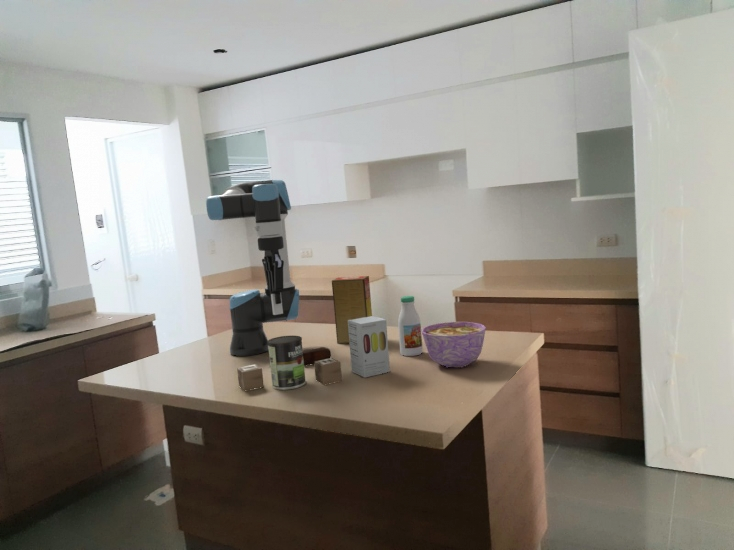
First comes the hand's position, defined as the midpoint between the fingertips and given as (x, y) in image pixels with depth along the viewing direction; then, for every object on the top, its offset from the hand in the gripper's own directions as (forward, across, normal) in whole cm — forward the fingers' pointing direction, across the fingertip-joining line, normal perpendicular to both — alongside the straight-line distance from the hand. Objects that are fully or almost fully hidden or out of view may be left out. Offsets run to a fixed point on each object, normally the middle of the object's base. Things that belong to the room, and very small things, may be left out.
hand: (277, 313), depth 169 cm
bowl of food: (+22, +22, +49) cm, 58 cm away
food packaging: (+23, -32, +42) cm, 57 cm away
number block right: (+22, +8, +11) cm, 26 cm away
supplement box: (+22, +10, +25) cm, 34 cm away
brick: (+22, -14, +16) cm, 31 cm away
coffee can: (+22, +3, 0) cm, 22 cm away
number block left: (+22, -3, -10) cm, 24 cm away
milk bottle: (+22, +1, +46) cm, 51 cm away
